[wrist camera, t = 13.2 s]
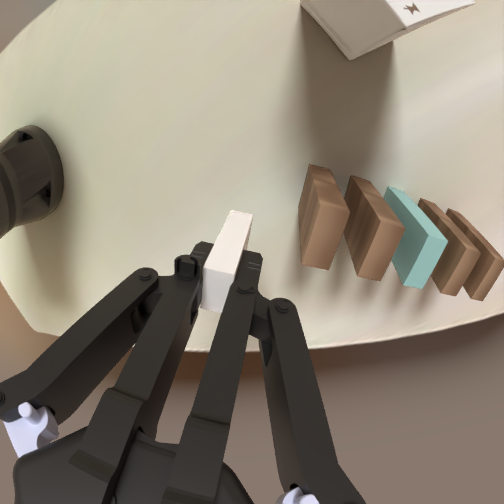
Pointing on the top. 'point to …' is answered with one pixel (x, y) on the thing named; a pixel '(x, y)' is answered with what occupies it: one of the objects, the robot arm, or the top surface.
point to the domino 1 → (321, 218)
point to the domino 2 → (370, 229)
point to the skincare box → (375, 20)
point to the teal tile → (414, 240)
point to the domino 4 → (487, 263)
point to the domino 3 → (450, 252)
